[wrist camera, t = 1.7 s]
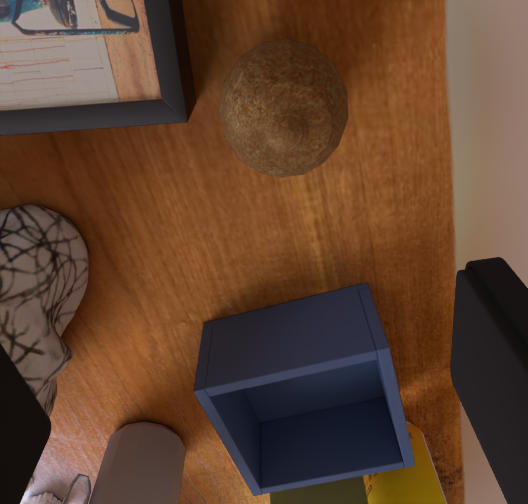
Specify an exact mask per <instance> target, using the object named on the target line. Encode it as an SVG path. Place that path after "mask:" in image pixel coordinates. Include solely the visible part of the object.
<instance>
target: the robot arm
mask: <svg viewBox="0 0 528 504" xmlns="http://www.w3.org/2000/svg"><path fill="white" fill-rule="evenodd" d="M450 372H451V378H452V382H453V385H454V388H455V390H456V392H457V394H458V396H459V399H460V401H461V403H462V405H463V407H464V409H465V412H466V414H467V416H468V418H469V420H470V422H471V425H472V427H473V429H474V431H475V433H476V436H477V438H478V440H479V442H480V444H481V447H482V449H483V451H484V453H485V455H486V458H487V460H488V462H489V464H490V466H491V468H492V471H493V473H494V475H495V477H496V479H497V481H498V484H499V486H500V488H501V490H502V492H503V494H504V497H505V499H506V501H507V503H508V504H528V288H527V287H526V286H525V285H524V283H523V282H522V281H521V280H520V278H519V277H518V276H517V275H516V274H515V272H514V271H513V270H512V269H511V268H510V266H509V265H508V264H507V263H506V261H505V260H503V259H502V258H500V257H496V258H490V259H483V260H475V261H470V262H468V263H467V264H466V268H465V270H459V271H458V272H457V276H456V288H455V303H454V318H453V334H452V349H451V364H450ZM50 433H51V422H50V419H49V417H48V415H47V414H46V412H45V411H44V409H43V408H42V406H41V404H40V403H39V401H38V400H37V398H36V397H35V395H34V394H33V392H32V391H31V389H30V388H29V386H28V385H27V383H26V381H25V380H24V378H23V377H22V375H21V374H20V372H19V371H18V369H17V368H16V366H15V365H14V363H13V362H12V360H11V358H10V357H9V355H8V354H7V352H6V351H5V349H4V348H3V346H2V345H1V343H0V504H20V502H21V500H22V497H23V495H24V493H25V491H26V488H27V486H28V484H29V482H30V479H31V477H32V475H33V473H34V470H35V468H36V466H37V463H38V461H39V459H40V457H41V454H42V452H43V450H44V448H45V445H46V443H47V441H48V439H49V436H50Z"/></svg>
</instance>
